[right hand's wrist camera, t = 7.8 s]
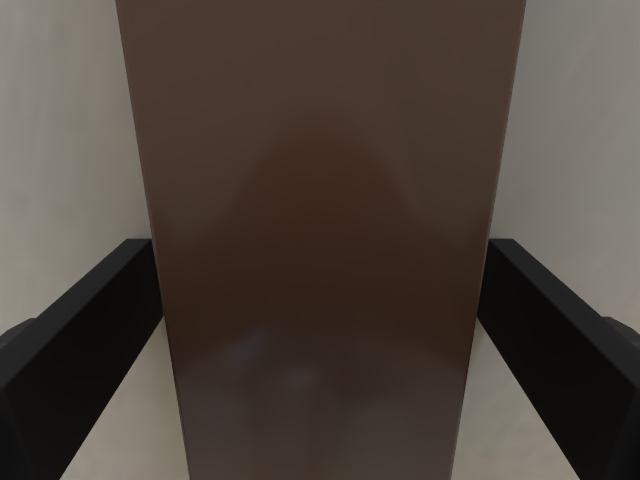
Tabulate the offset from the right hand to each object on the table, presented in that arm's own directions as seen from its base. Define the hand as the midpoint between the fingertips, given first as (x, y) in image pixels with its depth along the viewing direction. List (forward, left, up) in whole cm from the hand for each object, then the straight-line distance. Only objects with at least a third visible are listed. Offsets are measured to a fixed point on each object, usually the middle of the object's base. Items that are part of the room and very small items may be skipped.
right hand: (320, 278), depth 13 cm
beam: (+9, +6, 0) cm, 11 cm away
